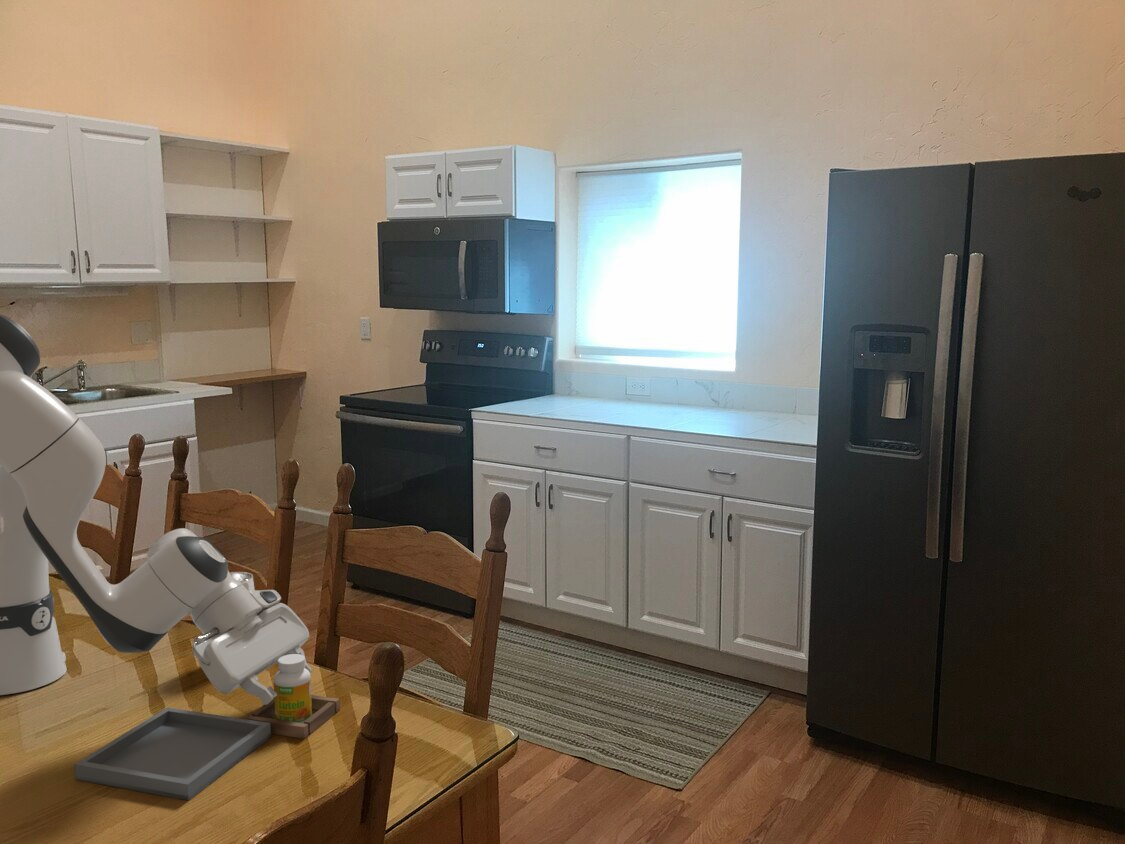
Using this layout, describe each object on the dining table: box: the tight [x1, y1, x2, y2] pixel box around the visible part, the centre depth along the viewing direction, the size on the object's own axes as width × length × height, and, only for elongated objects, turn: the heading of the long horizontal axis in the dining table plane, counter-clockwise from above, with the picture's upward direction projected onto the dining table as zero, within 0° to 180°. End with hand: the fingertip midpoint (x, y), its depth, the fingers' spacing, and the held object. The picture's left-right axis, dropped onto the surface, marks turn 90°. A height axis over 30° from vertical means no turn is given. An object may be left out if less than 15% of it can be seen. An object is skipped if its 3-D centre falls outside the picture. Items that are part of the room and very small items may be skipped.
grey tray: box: [73, 707, 272, 801], centre depth 131 cm, size 18×18×2 cm
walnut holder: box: [244, 694, 341, 740], centre depth 143 cm, size 10×10×2 cm
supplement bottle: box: [273, 654, 313, 723], centre depth 142 cm, size 5×5×10 cm
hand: (290, 687), depth 142 cm, fingers open, 8 cm apart
